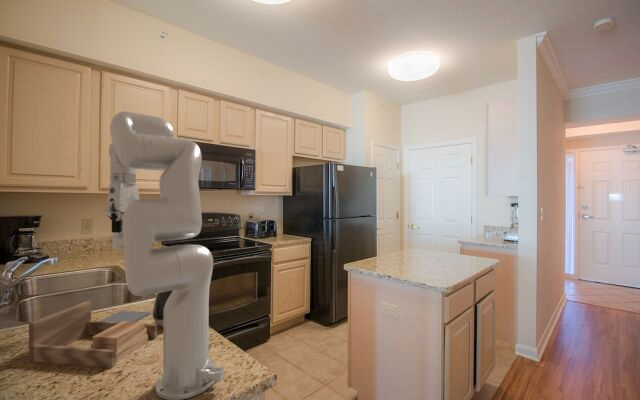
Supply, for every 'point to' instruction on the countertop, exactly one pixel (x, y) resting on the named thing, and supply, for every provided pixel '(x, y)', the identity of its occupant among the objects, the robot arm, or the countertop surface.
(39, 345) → the rack
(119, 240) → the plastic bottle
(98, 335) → the offcut stack
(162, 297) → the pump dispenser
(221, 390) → the countertop surface
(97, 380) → the countertop surface
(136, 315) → the mat
